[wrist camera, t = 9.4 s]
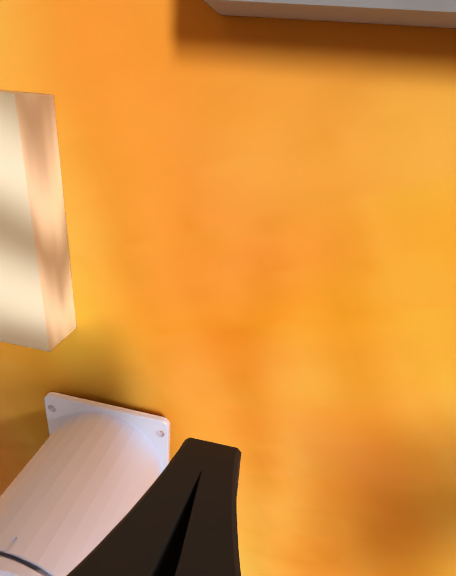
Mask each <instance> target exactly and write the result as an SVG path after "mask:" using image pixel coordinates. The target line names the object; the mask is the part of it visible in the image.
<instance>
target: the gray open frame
mask: <svg viewBox="0 0 456 576" xmlns="http://www.w3.org/2000/svg"><path fill="white" fill-rule="evenodd" d="M203 1H204V2H206V3H207V4H208V5H209V6H210V7H211V8H212V9H214V10H215V11H216V12H217V13H218V14H219V15H233V16H250V17H267V18H284V19H301V20H319V21H336V22H353V23H370V24H388V25H405V26H422V27H439V28H456V0H203Z"/></svg>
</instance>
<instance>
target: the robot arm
mask: <svg viewBox="0 0 456 576" xmlns="http://www.w3.org/2000/svg"><path fill="white" fill-rule="evenodd" d="M44 403H45V409H46V415H47V422H48V428H49V435H50V437H49V438H48V439H47V440H46V441H45V443H44V444H43V445H42V446H41V447H40V449H39V450H38V451H37V452H36V454H35V455H34V456H33V457H32V458H31V460H30V461H29V462H28V463H27V464H26V466H25V467H24V468H23V469H22V471H21V472H20V473H19V474H18V475H17V477H16V478H15V479H14V480H13V481H12V483H11V484H10V485H9V486H8V488H7V489H6V490H5V491H4V492H3V494H2V495H1V496H0V576H241V571H240V562H239V550H238V533H237V513H236V497H237V488H238V478H239V469H240V460H241V452H240V451H239V449H238V448H235V447H230V446H226V445H221V444H217V443H212V442H208V441H203V440H199V439H194V438H188V439H186V440H185V441H184V443H183V444H182V446H181V447H180V449H179V450H178V452H177V453H176V454H175V456H174V457H173V458H172V460H171V461H170V462H169V456H170V422H169V421H168V419H166V418H165V417H162V416H157V415H153V414H148V413H144V412H140V411H135V410H131V409H126V408H122V407H117V406H113V405H109V404H104V403H100V402H95V401H91V400H87V399H82V398H78V397H73V396H69V395H65V394H60V393H56V392H49V393H48V394H47V395H46V396H45V397H44ZM161 431H162V432H161Z"/></svg>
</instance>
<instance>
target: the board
mask: <svg viewBox="0 0 456 576" xmlns="http://www.w3.org/2000/svg"><path fill="white" fill-rule="evenodd" d="M75 328H76V319H75V309H74V299H73V289H72V278H71V268H70V258H69V248H68V238H67V228H66V218H65V207H64V197H63V187H62V177H61V167H60V157H59V147H58V136H57V126H56V116H55V106H54V96H53V95H48V94H38V93H28V92H18V91H7V90H0V341H1V342H6V343H10V344H15V345H20V346H25V347H29V348H34V349H39V350H44V351H49V352H50V351H51V350H52V349H53V348H54V347H55V346H57V345H58V344H59V343H60V342H61V341H62V340H63V339H64V338H65V337H67V336H68V335H69V334H70V333H71V332H72V331H73V330H74V329H75Z"/></svg>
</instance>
